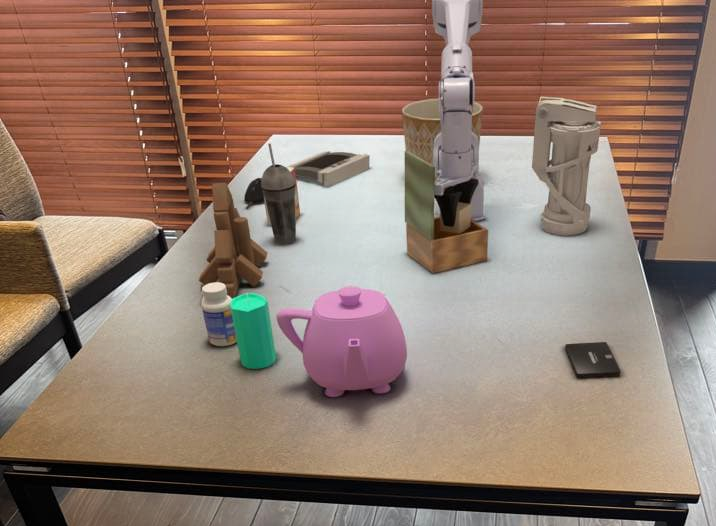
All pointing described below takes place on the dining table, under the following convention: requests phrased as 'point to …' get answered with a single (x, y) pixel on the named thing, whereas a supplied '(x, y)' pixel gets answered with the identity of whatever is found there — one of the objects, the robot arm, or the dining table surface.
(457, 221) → the cube
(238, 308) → the candle
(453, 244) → the open wooden box
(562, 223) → the lantern
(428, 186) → the lid
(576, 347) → the solid state drive
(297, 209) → the small box
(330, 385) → the teapot
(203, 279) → the wooden blocks
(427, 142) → the planter
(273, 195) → the beverage cup
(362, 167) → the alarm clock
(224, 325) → the pill bottle
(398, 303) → the dining table surface
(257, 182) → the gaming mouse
